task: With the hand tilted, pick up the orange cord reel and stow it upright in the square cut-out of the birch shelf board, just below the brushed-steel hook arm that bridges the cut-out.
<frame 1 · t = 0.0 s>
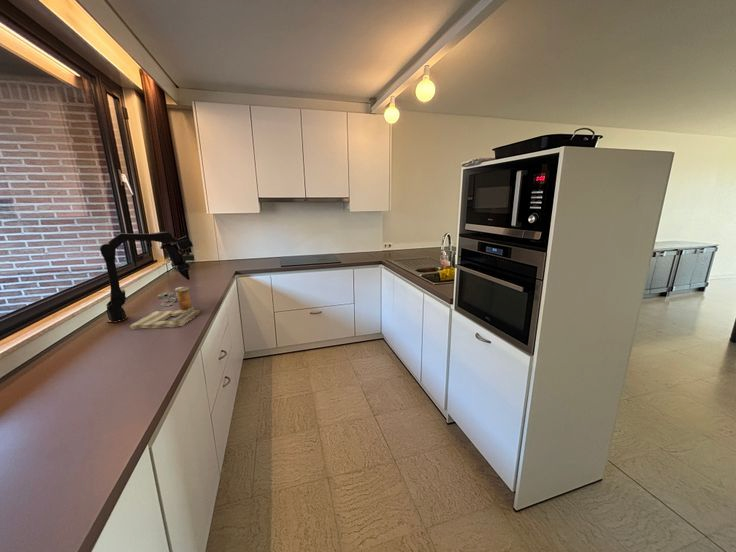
hand: (186, 278, 176), 15 cm above the countertop, tool pointing down, fingers open, 9 cm apart
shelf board: (167, 320, 155), on the countertop
hook arm: (184, 319, 155), resting on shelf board
cord reel: (186, 310, 168), on the countertop
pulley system: (173, 300, 189), on the countertop
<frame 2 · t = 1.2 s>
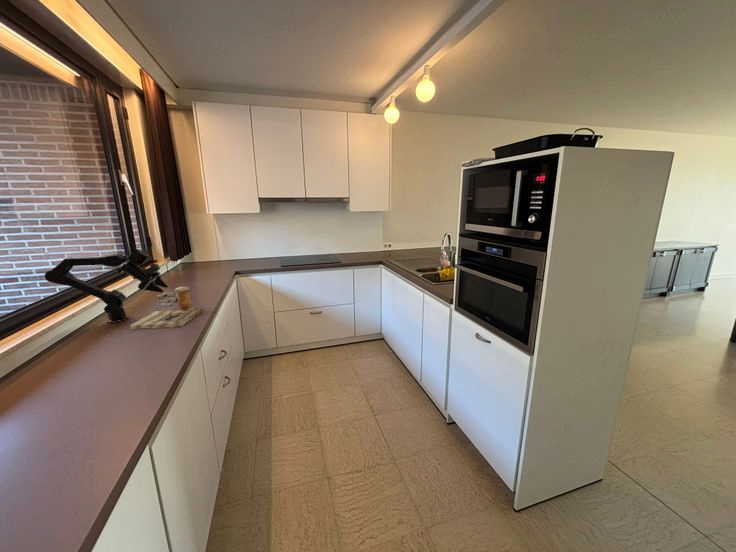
hand: (165, 289, 162), 13 cm above the countertop, tool tilted 45°, fingers open, 9 cm apart
nothing on the countertop moved.
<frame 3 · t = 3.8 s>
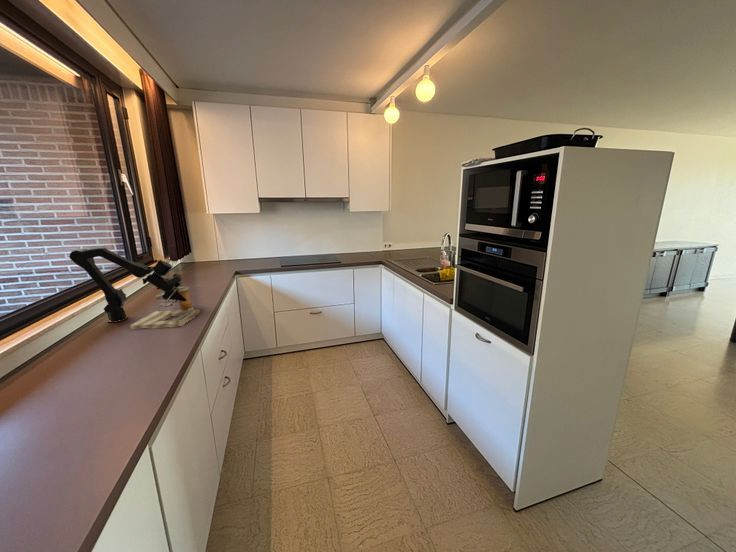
hand: (187, 298, 167), 7 cm above the countertop, tool tilted 45°, fingers closed on cord reel, 6 cm apart
cord reel: (186, 310, 168), on the countertop, touching gripper
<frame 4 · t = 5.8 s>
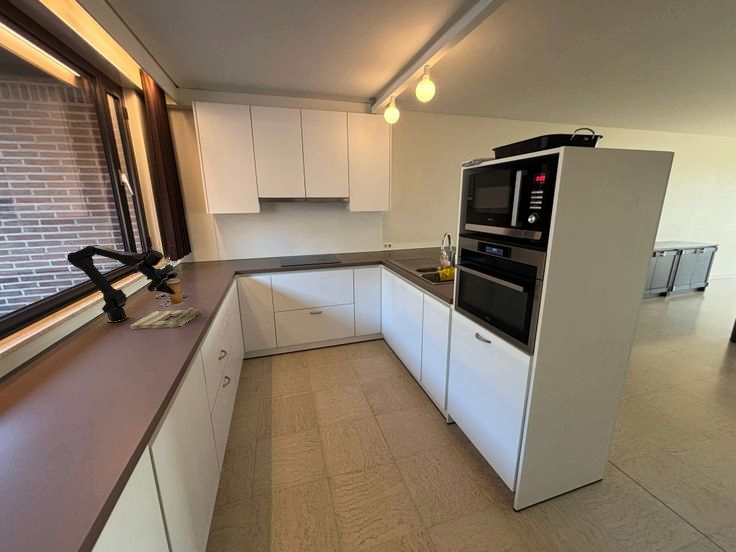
hand: (177, 292, 156), 13 cm above the countertop, tool tilted 45°, fingers closed on cord reel, 6 cm apart
cord reel: (177, 304, 158), point 7 cm above the countertop, touching gripper
when the fingers open (8 cm above the countertop, at t = 7.9 s): cord reel drops 1 cm, resting in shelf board.
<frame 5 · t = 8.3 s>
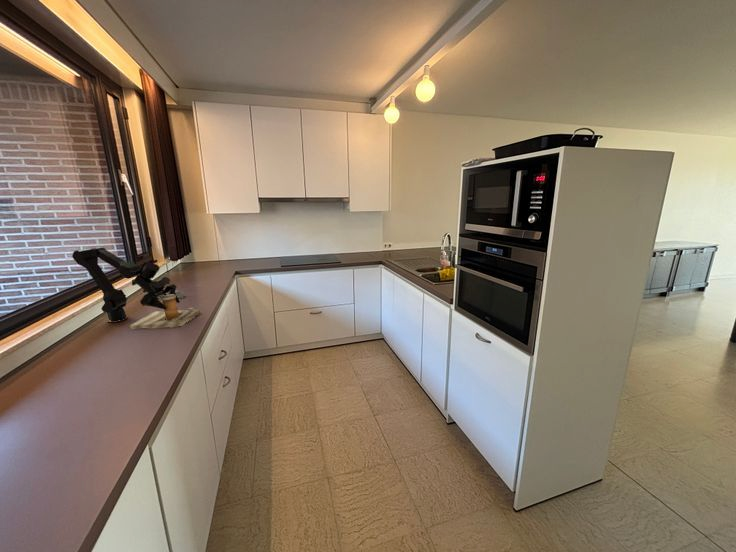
hand: (172, 305, 152), 8 cm above the countertop, tool tilted 45°, fingers open, 9 cm apart
cord reel: (173, 320, 155), resting in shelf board
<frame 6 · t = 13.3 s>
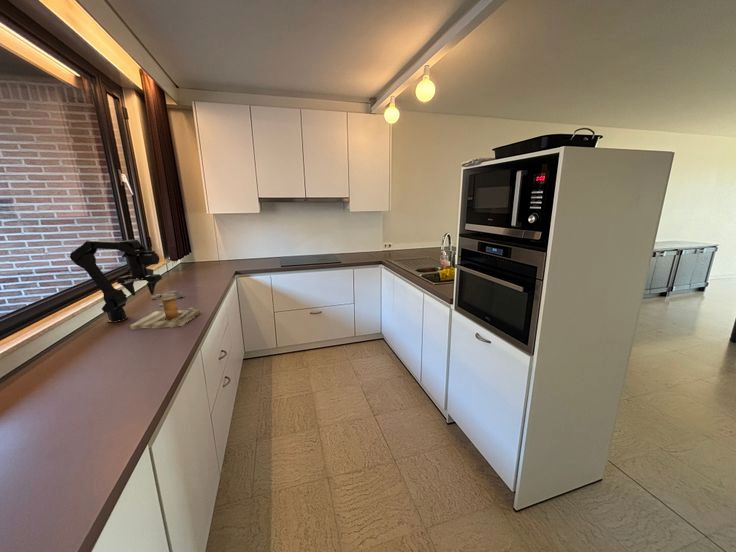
hand: (143, 295, 155), 13 cm above the countertop, tool pointing down, fingers open, 9 cm apart
at the end: cord reel 0.1 cm from the target spot on the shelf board, point 0.0 cm above the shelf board's base; cord reel tilted 0°; the gripper is holding nothing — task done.
